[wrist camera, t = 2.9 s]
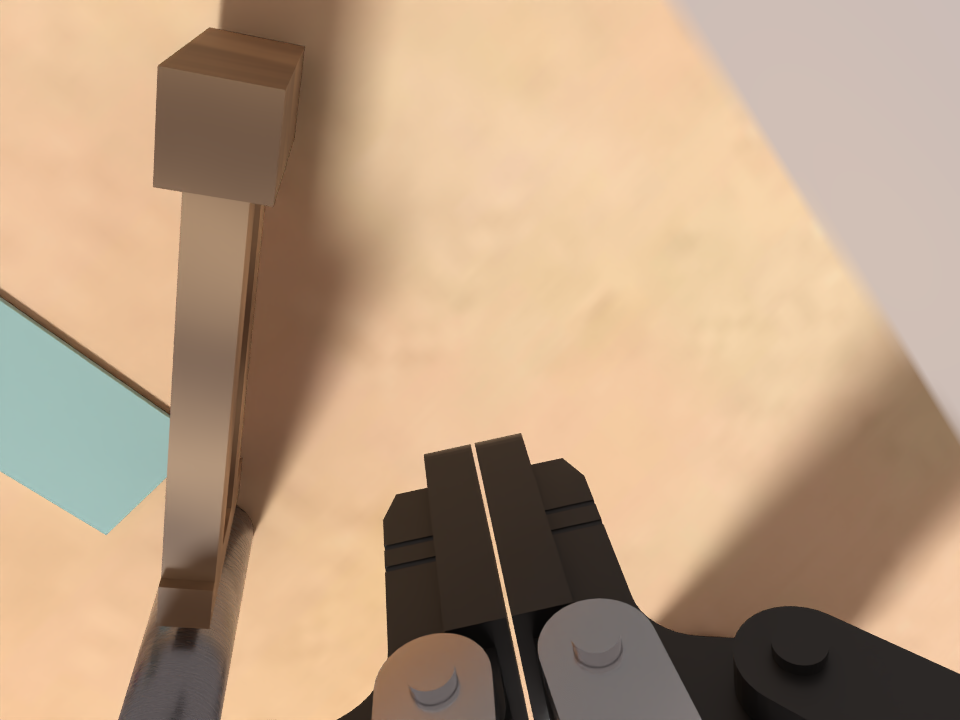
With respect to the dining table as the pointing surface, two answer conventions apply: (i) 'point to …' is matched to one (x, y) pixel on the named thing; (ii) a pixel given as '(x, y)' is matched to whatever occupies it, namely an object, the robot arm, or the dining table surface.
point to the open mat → (75, 426)
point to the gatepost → (192, 649)
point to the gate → (215, 283)
